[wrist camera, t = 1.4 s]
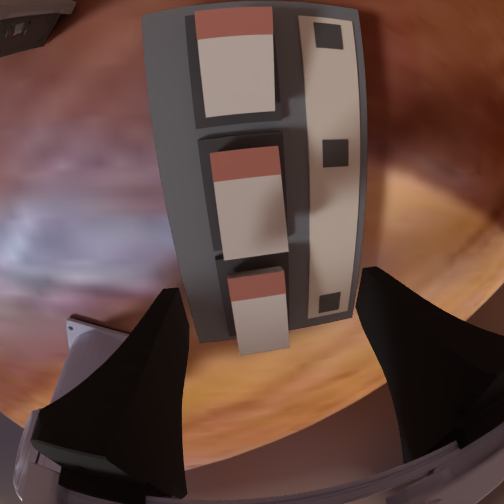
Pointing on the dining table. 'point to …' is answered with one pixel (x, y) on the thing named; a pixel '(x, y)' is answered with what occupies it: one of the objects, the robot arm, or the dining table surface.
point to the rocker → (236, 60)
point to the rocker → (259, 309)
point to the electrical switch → (29, 22)
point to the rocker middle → (249, 202)
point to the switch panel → (290, 153)
